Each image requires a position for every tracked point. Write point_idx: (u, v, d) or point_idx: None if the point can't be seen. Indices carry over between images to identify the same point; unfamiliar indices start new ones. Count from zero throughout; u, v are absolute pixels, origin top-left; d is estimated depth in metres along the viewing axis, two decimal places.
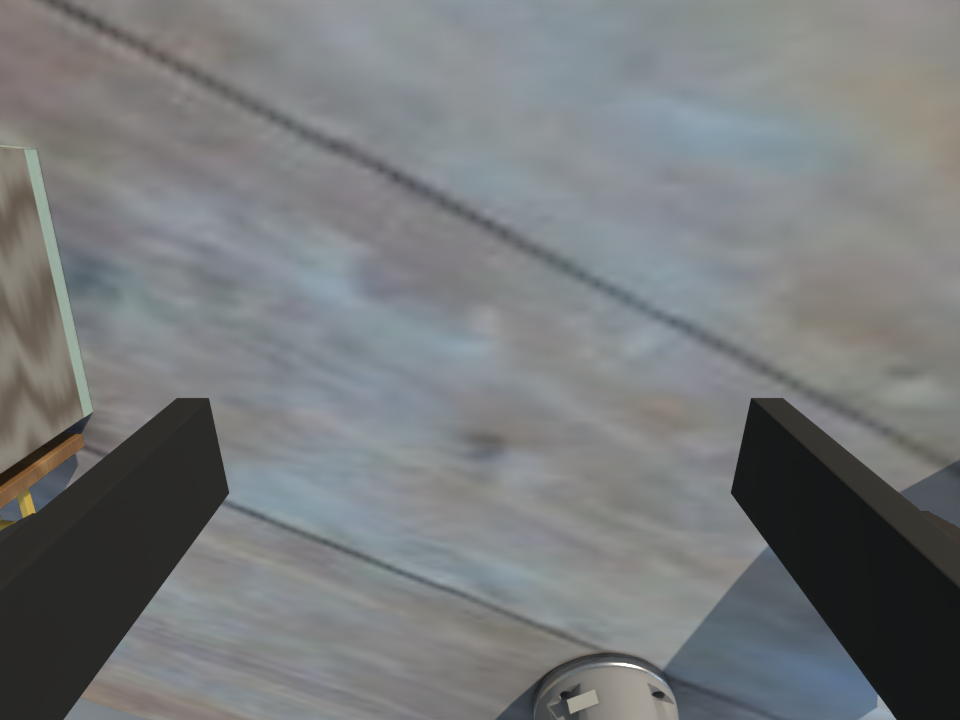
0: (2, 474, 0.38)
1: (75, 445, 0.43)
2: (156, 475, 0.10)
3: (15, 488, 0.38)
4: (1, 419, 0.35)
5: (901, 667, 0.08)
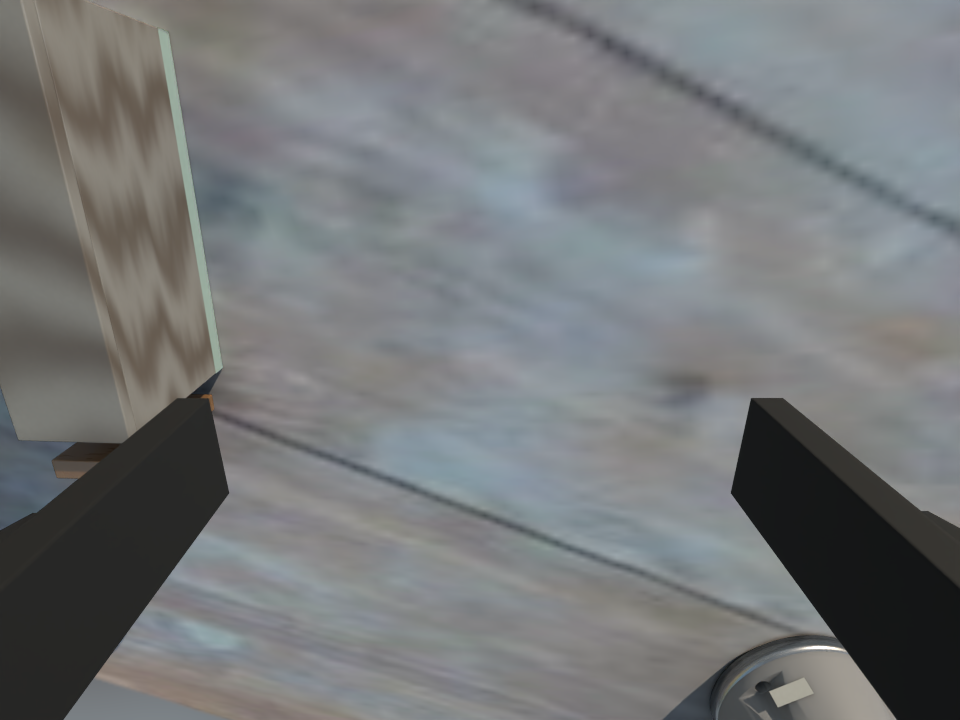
0: None
1: None
2: (156, 475, 0.10)
3: None
4: (145, 363, 0.28)
5: (901, 667, 0.08)
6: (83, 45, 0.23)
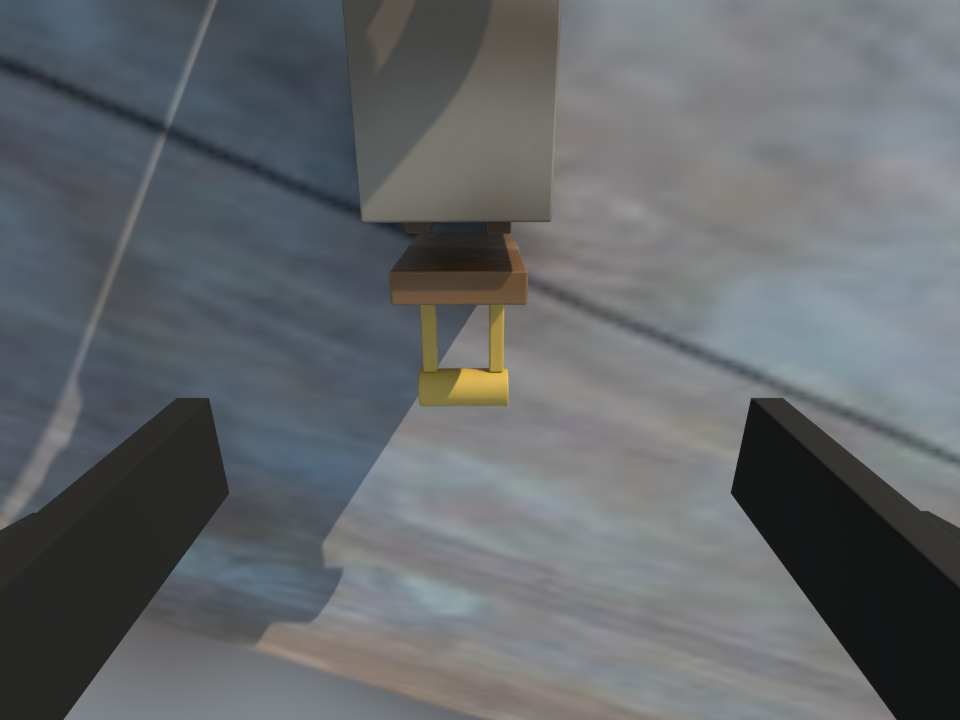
0: (482, 256, 0.20)
1: None
2: (155, 475, 0.10)
3: None
4: None
5: (901, 667, 0.08)
6: None
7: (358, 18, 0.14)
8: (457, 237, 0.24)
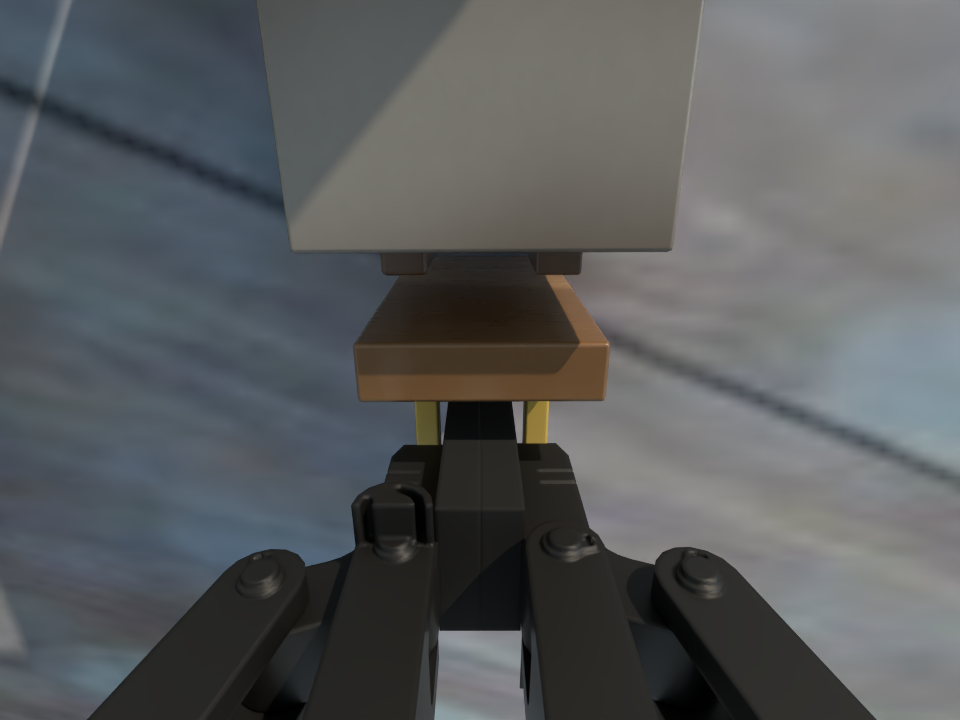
0: (517, 303, 0.12)
1: None
2: None
3: None
4: None
5: None
6: None
7: None
8: (470, 264, 0.16)
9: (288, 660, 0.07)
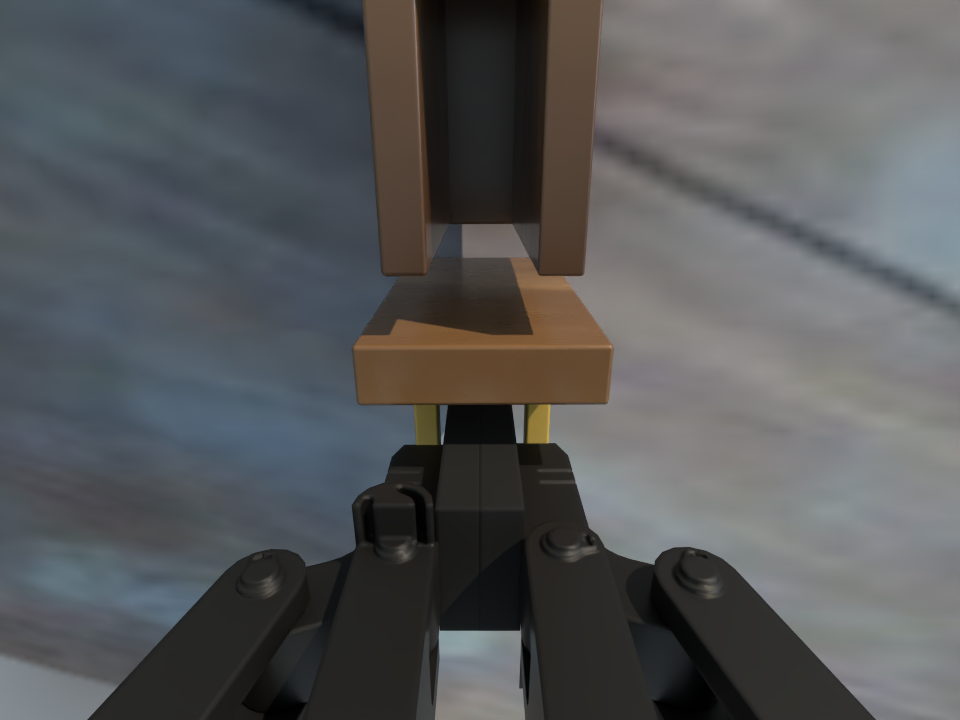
0: (518, 305, 0.12)
1: None
2: None
3: None
4: None
5: None
6: None
7: None
8: (470, 265, 0.16)
9: (288, 660, 0.07)
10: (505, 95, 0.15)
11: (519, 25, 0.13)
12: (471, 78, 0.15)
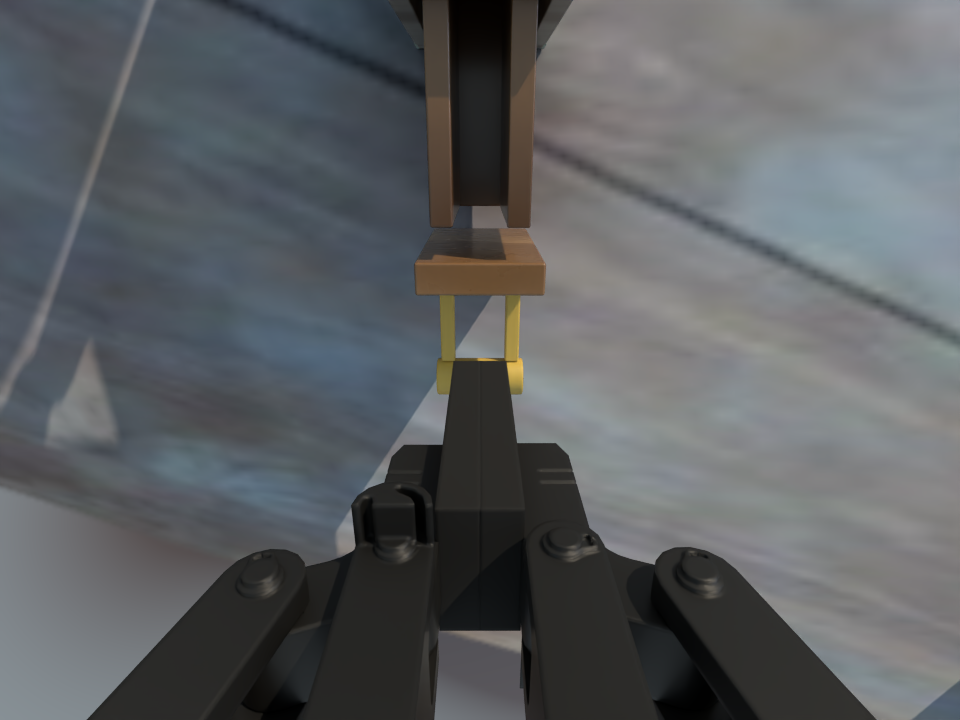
0: (500, 249, 0.21)
1: None
2: None
3: None
4: None
5: None
6: None
7: None
8: (473, 232, 0.25)
9: (288, 660, 0.07)
10: (495, 125, 0.24)
11: (502, 87, 0.22)
12: (474, 115, 0.24)
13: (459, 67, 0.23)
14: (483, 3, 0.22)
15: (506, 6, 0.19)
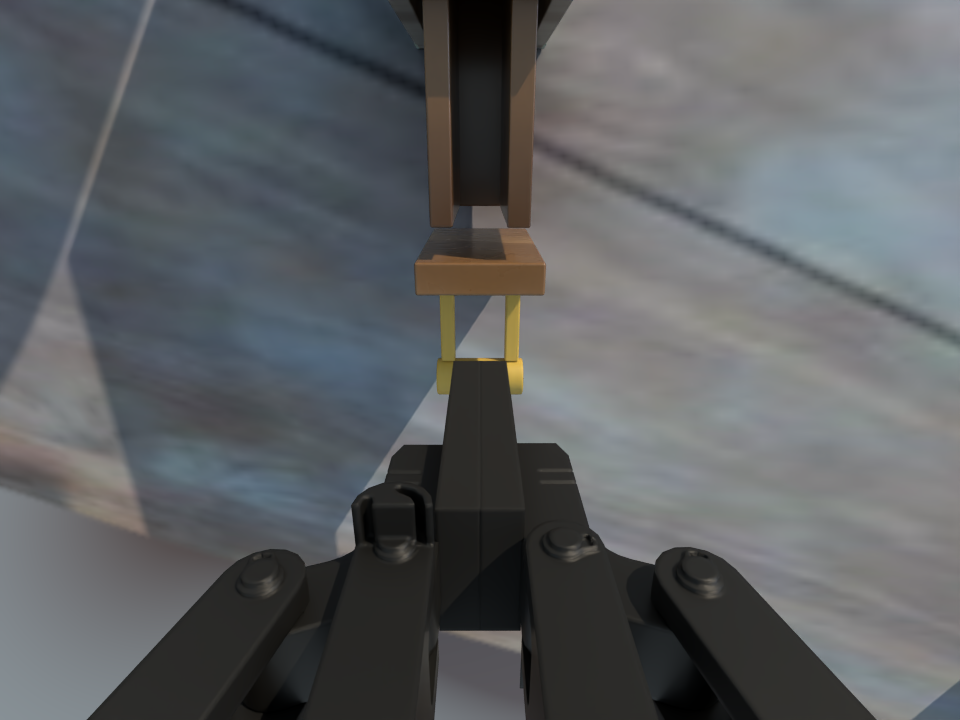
0: (500, 249, 0.21)
1: None
2: None
3: None
4: None
5: None
6: None
7: None
8: (473, 232, 0.25)
9: (288, 660, 0.07)
10: (495, 125, 0.24)
11: (502, 87, 0.22)
12: (474, 115, 0.24)
13: (459, 67, 0.23)
14: (483, 3, 0.22)
15: (506, 6, 0.19)
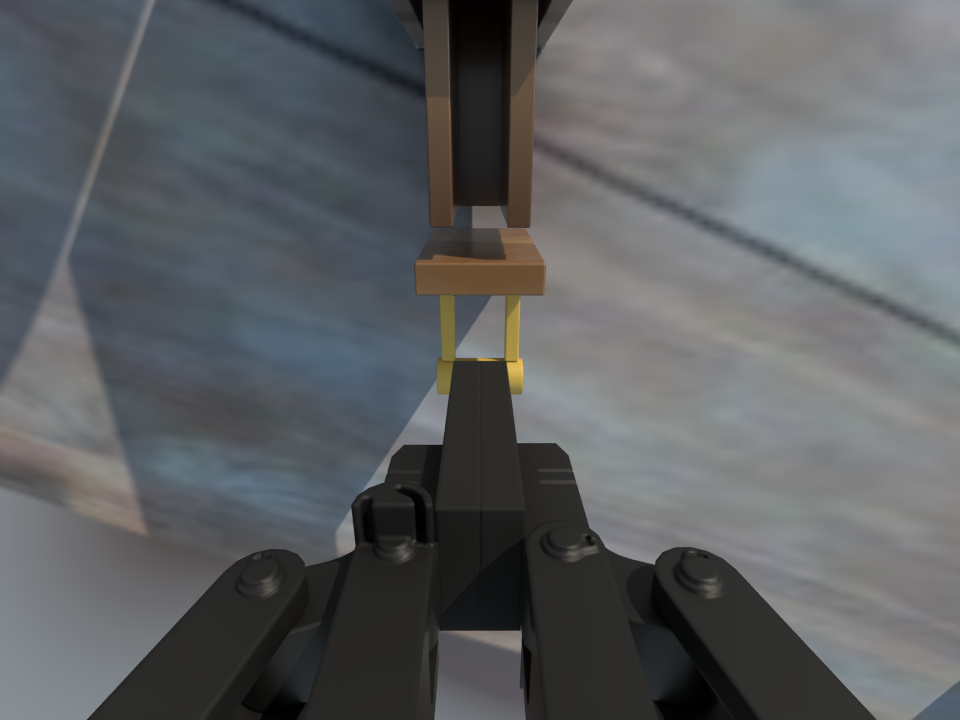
0: (500, 249, 0.21)
1: None
2: None
3: None
4: None
5: None
6: None
7: None
8: (473, 232, 0.25)
9: (288, 660, 0.07)
10: (495, 125, 0.24)
11: (502, 87, 0.22)
12: (474, 115, 0.24)
13: (459, 67, 0.23)
14: (483, 3, 0.22)
15: (506, 6, 0.19)
